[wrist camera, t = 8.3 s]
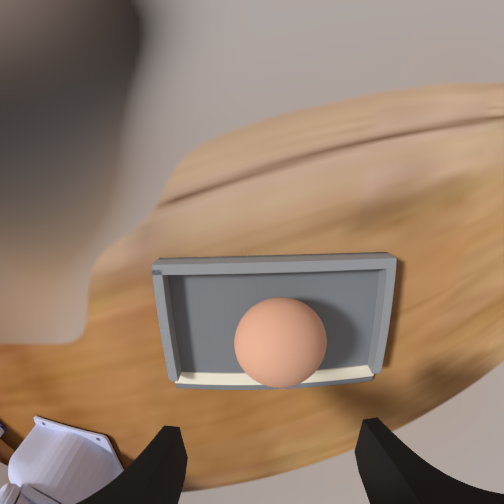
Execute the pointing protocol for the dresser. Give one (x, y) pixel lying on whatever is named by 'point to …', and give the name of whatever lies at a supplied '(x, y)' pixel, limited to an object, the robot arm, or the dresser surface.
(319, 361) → the ball
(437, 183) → the dresser surface
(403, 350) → the dresser surface
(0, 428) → the supplement box
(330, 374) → the grey shallow tray
